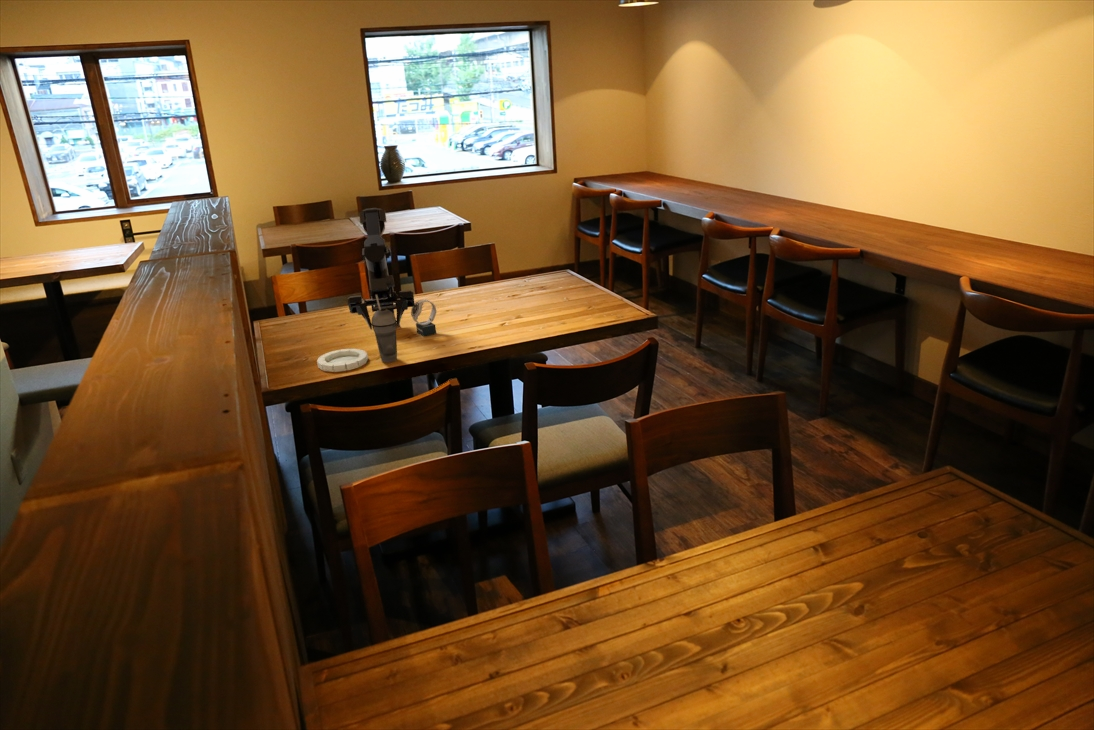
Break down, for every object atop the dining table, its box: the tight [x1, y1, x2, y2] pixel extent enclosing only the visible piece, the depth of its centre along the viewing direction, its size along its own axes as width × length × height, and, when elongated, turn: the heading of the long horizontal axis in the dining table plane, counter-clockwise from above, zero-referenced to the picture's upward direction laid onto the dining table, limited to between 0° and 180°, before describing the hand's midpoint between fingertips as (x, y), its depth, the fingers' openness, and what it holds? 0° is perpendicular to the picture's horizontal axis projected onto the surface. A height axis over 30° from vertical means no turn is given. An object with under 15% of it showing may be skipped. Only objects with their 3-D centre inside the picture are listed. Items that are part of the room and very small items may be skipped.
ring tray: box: [316, 348, 369, 373], centre depth 217 cm, size 14×14×2 cm
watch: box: [410, 299, 437, 338], centre depth 237 cm, size 6×8×11 cm
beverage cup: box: [371, 294, 398, 364], centre depth 214 cm, size 7×7×20 cm
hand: (384, 327), depth 212 cm, fingers closed on beverage cup, 7 cm apart
